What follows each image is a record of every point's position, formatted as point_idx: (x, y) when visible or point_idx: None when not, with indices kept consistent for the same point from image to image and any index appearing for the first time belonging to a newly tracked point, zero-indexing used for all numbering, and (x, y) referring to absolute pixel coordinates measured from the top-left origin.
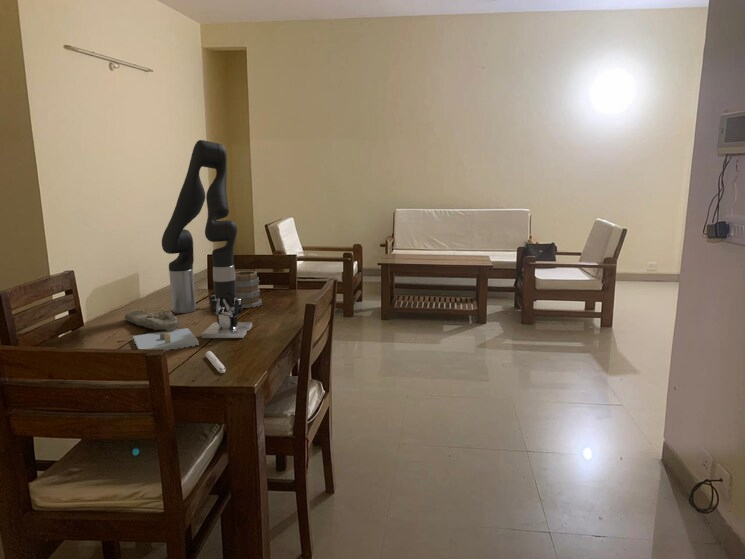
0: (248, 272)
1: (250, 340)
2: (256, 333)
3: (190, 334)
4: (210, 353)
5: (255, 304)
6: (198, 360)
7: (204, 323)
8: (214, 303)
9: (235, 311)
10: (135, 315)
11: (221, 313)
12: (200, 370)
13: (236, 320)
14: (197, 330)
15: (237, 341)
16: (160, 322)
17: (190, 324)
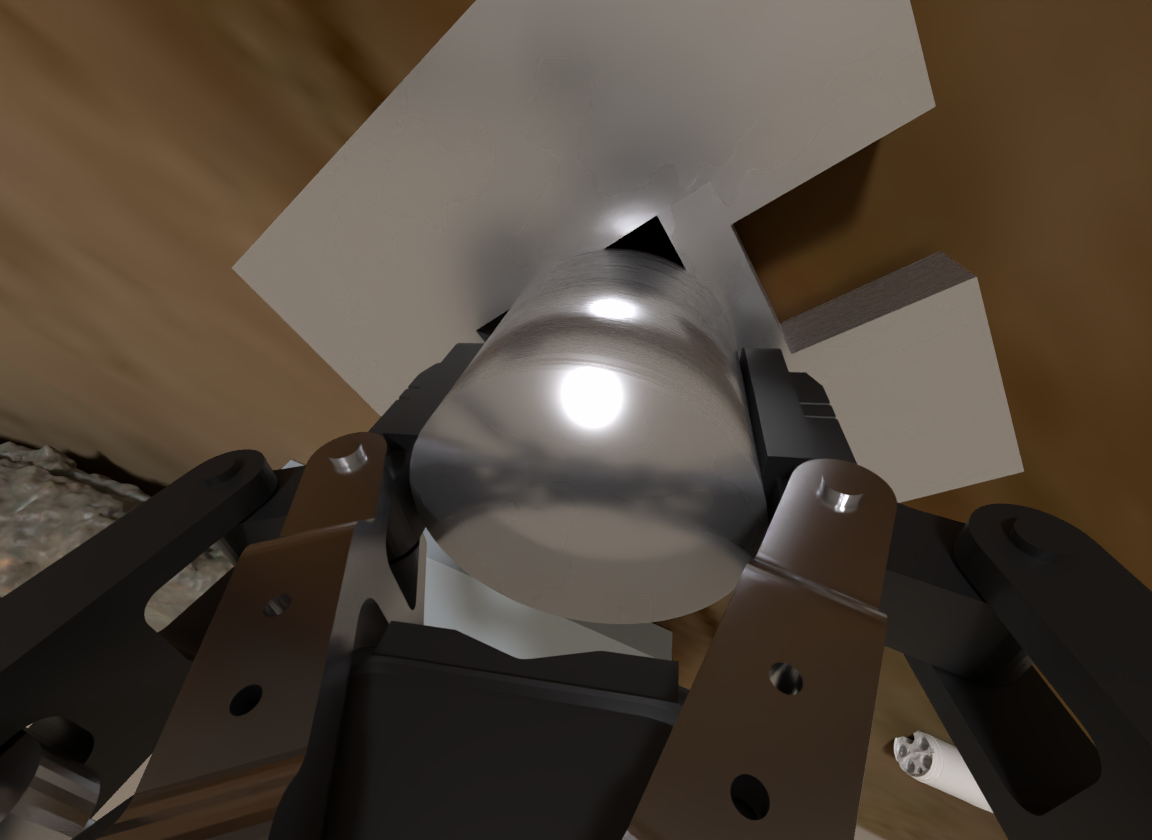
0: None
1: (1140, 433)
2: (1128, 109)
3: (469, 587)
4: (966, 798)
5: None
6: (879, 765)
7: (12, 158)
8: (145, 700)
9: (1011, 749)
10: None
11: (464, 532)
12: (987, 827)
13: (835, 441)
14: (284, 395)
15: (956, 502)
16: (167, 623)
17: (12, 278)
